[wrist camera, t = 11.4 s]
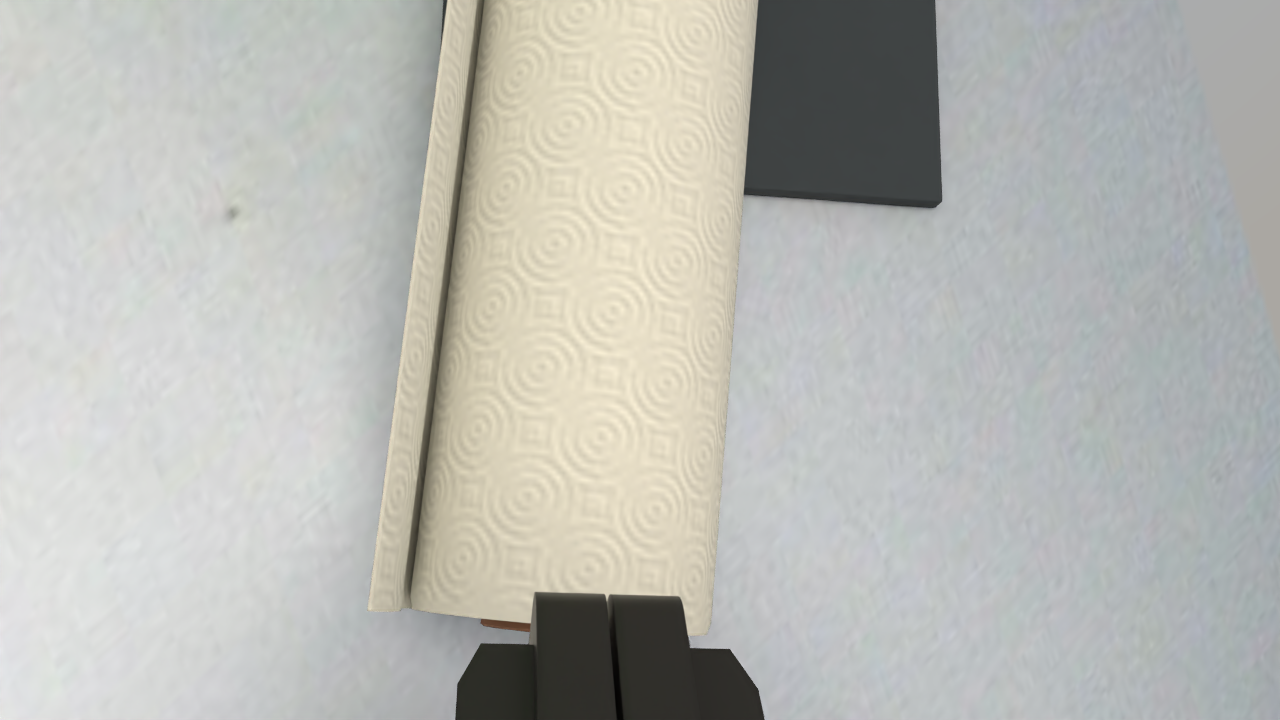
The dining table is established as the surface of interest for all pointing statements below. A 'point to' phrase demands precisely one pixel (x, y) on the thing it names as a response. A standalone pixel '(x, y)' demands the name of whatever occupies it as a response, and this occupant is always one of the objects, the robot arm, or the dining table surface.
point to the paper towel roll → (570, 309)
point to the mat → (844, 102)
